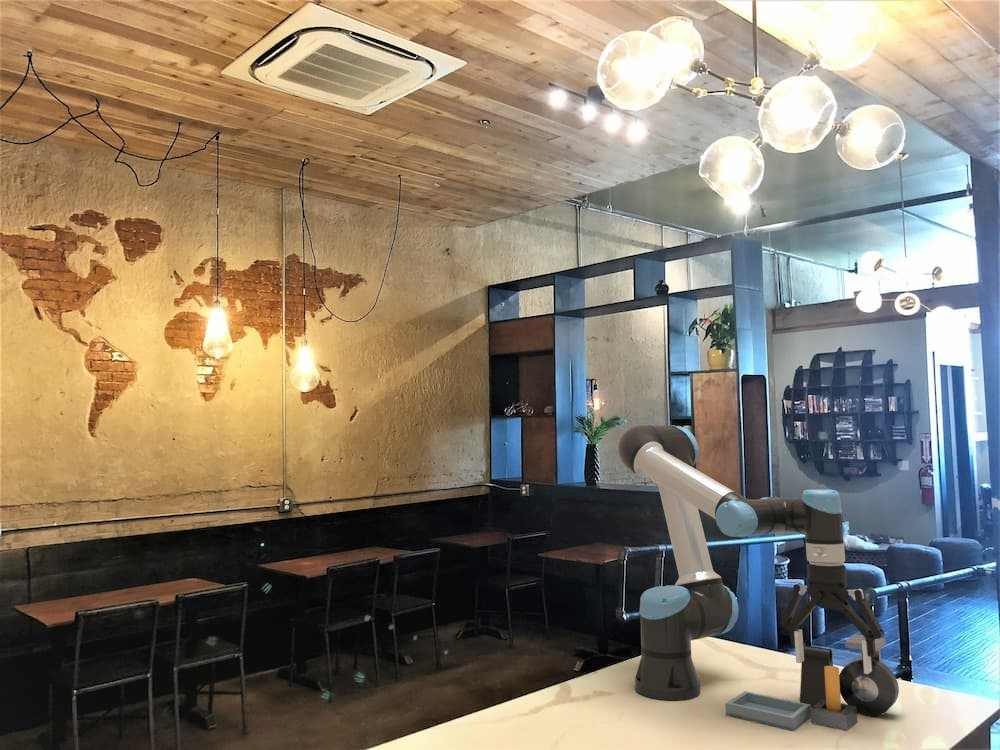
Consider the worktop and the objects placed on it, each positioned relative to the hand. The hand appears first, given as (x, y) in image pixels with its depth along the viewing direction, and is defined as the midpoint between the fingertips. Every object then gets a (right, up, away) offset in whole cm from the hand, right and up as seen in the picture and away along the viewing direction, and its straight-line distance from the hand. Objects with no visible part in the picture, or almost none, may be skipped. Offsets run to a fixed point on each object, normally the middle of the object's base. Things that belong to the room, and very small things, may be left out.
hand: (833, 667), depth 158 cm
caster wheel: (+10, -12, +5) cm, 16 cm away
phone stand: (+2, -13, +11) cm, 17 cm away
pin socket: (0, -11, -1) cm, 11 cm away
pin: (0, -11, -1) cm, 11 cm away
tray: (-12, -12, +3) cm, 17 cm away
